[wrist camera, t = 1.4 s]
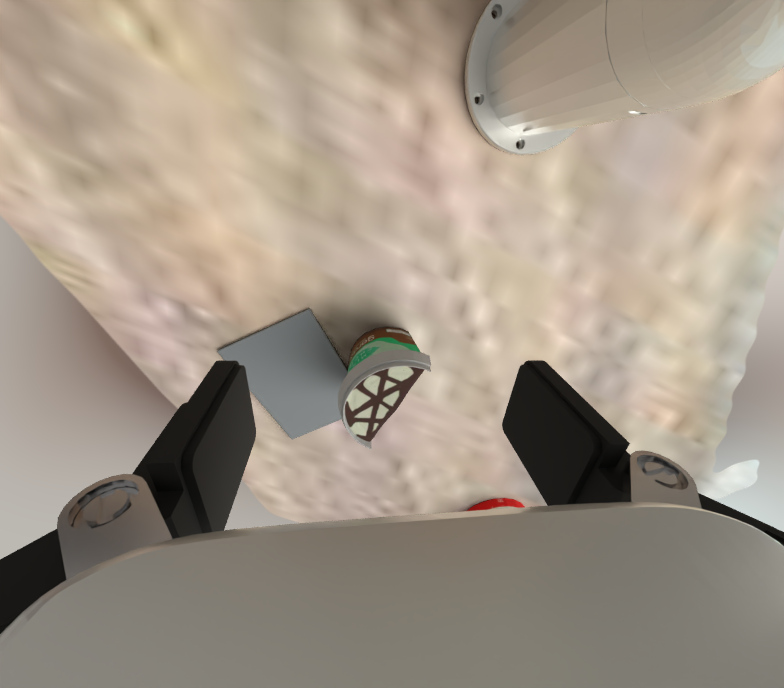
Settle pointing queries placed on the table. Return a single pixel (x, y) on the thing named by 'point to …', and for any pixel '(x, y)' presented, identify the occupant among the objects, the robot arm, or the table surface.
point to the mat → (292, 372)
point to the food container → (378, 380)
